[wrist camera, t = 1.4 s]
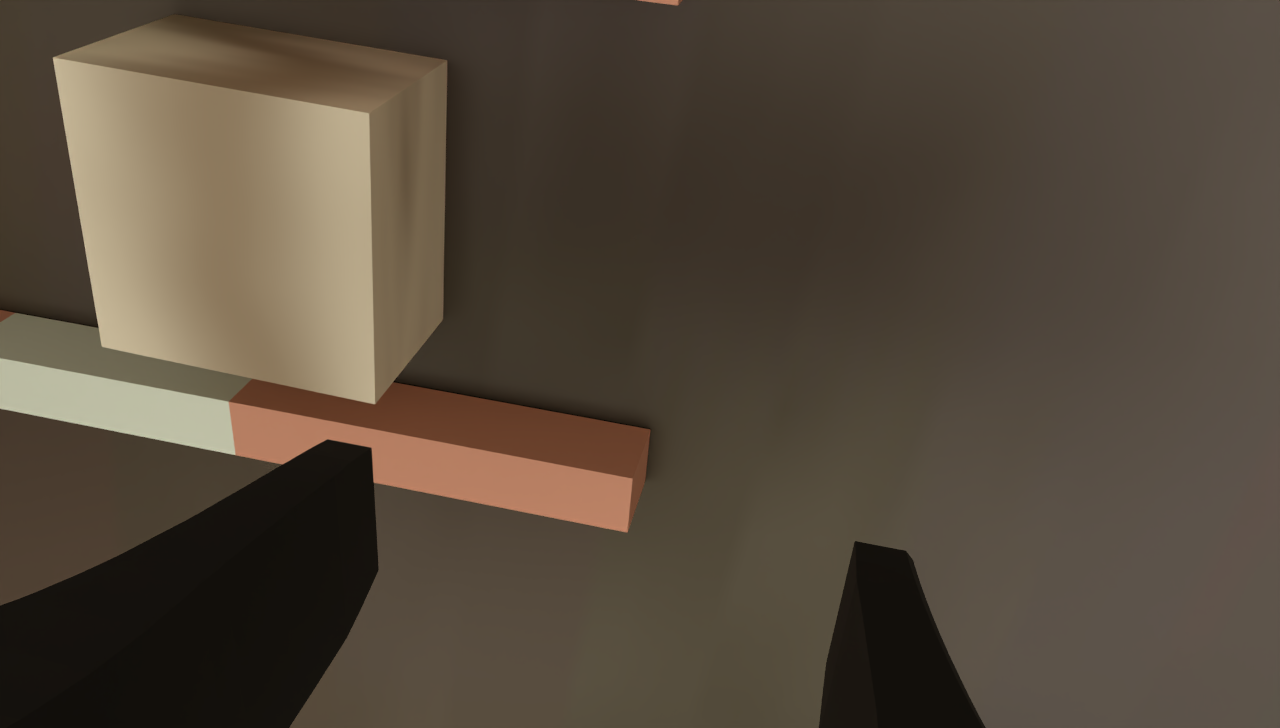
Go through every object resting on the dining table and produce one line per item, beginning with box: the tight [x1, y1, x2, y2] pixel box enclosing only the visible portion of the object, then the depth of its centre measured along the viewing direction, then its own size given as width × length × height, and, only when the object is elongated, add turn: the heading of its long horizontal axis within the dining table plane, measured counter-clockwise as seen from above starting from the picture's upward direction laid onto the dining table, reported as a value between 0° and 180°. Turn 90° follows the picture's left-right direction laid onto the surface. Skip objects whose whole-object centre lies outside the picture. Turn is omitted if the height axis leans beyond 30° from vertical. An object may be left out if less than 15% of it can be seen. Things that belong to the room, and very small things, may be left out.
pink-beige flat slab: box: [0, 0, 682, 532], centre depth 23 cm, size 19×13×2 cm
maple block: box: [53, 14, 447, 404], centre depth 22 cm, size 6×6×4 cm
